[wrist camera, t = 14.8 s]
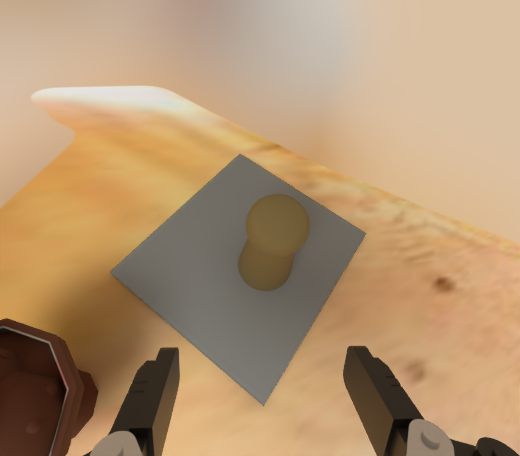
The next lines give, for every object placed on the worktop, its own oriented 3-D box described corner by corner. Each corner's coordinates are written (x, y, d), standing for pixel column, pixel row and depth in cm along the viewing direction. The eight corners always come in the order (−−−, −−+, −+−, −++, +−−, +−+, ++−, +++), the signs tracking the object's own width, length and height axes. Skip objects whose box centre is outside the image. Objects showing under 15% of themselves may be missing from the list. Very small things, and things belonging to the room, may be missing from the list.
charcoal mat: (262, 405, 24) (263, 406, 23) (111, 274, 28) (109, 272, 27) (364, 235, 33) (366, 233, 33) (239, 156, 37) (239, 153, 37)
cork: (230, 248, 30) (230, 192, 20) (278, 234, 31) (300, 174, 22) (248, 299, 27) (257, 262, 18) (300, 280, 29) (334, 236, 19)
